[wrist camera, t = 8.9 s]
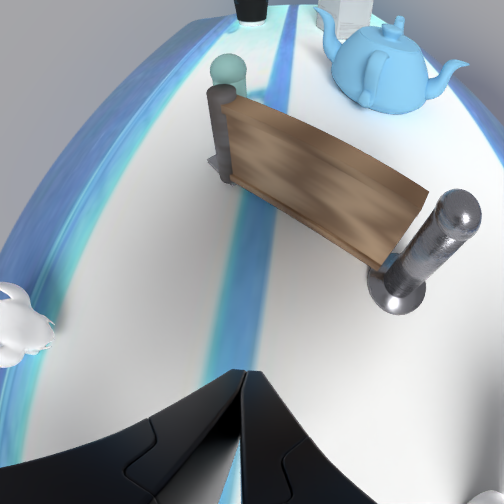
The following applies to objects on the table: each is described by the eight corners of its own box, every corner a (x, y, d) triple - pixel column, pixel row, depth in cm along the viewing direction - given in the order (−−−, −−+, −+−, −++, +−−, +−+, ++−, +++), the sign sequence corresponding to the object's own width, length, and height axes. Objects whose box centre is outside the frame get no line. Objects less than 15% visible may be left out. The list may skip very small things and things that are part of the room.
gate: (385, 256, 22) (433, 184, 15) (373, 275, 22) (423, 206, 14) (230, 163, 27) (220, 81, 19) (215, 177, 26) (200, 93, 19)
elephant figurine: (64, 382, 19) (16, 370, 14) (2, 369, 19) (-44, 353, 14) (72, 302, 22) (30, 272, 17) (11, 300, 22) (-29, 274, 17)
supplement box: (368, 39, 44) (377, -18, 32) (335, 39, 43) (342, -22, 31) (346, 25, 47) (353, -27, 36) (315, 26, 46) (318, -30, 35)
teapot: (351, 128, 31) (370, 48, 22) (305, 65, 37) (309, 2, 28) (445, 124, 32) (472, 63, 23) (389, 65, 39) (402, 12, 29)
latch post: (232, 186, 27) (218, 73, 17) (207, 162, 28) (187, 56, 18) (267, 165, 28) (267, 55, 18) (241, 143, 29) (233, 40, 19)
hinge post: (398, 328, 20) (487, 263, 11) (354, 281, 22) (412, 188, 13) (433, 286, 22) (514, 210, 12) (393, 244, 24) (452, 150, 14)
